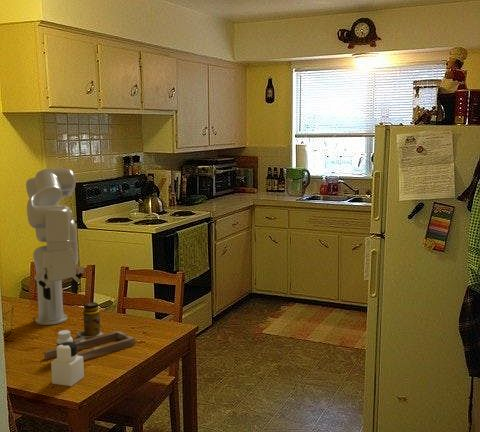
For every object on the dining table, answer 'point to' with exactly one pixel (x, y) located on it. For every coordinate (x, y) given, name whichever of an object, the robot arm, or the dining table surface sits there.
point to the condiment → (91, 321)
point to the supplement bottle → (64, 337)
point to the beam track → (97, 351)
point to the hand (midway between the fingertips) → (61, 296)
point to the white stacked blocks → (67, 365)
